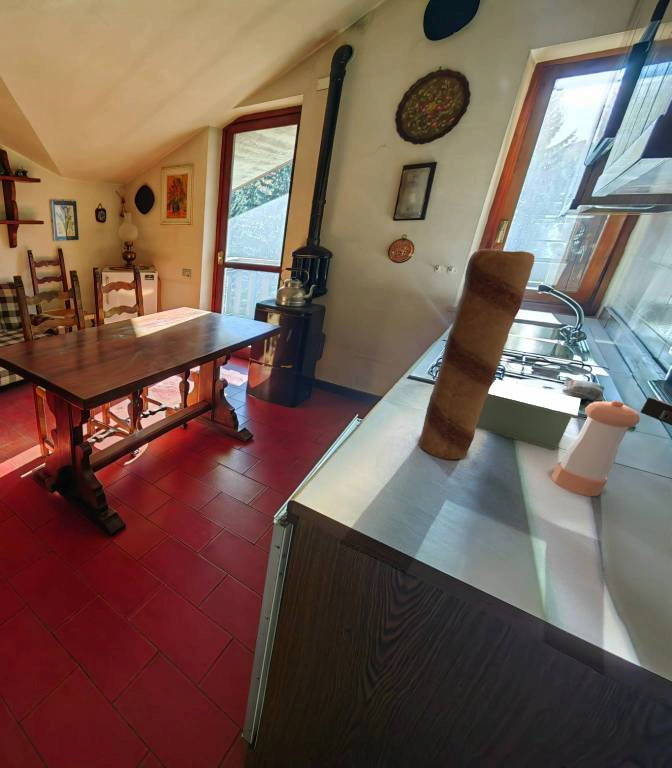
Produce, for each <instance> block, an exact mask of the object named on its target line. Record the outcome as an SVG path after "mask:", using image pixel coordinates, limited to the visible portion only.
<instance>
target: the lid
mask: <svg viewBox="0 0 672 768" xmlns="http://www.w3.org/2000/svg"><path fill="white" fill-rule="evenodd" d="M487 396H489V397H493V398H497V399H501V400H505V401H509V402H513V403H517V404H521V405H524V406H528V407H532V408H536V409H540V410H544V411H548V412H552V413H556V414H560V415H564V416H568V417H571V419H577V418H578V415H579V412H580V411H579V410H580V406H581V400H582V399H580V398H576V397H572V396H569V395H567V394H562V393H557V392H554V391H548V390H545V389H539V388H535V387H532V386H526V385H523V384H518V383H515V382H514V383H513V382H509V381H504V380H501V379H495V380H494V381H493V383H492V385H491V387H490V390H489V393H488V395H487Z"/></svg>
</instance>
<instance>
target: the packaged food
mask: <svg viewBox="0 0 672 768" xmlns="http://www.w3.org/2000/svg"><path fill="white" fill-rule="evenodd" d="M563 384H564V385H565V386H566V389H563V390H562V392H563V393H564V395H566V396H571V397H575V398H580V399H581V400H586V401H590V402H592V403H593V402H603V399H604V390H605V386H603V385H601V384H599V383H596V382H592V381H588V380H569V381H565V382H563Z"/></svg>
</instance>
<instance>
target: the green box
mask: <svg viewBox="0 0 672 768" xmlns="http://www.w3.org/2000/svg"><path fill="white" fill-rule="evenodd" d="M571 419H572V417H568V416H564V415H560V414H556V413H552V412H548V411H544V410H540V409H536V408H532V407H528V406H524V405H521V404H517V403H513V402H509V401H505V400H501V399H497V398H493V397H489V396H487V397H486V399H485V401H484V404H483V408H482V410H481V413H480V415H479V420H478V423H477V426H476V429H477V428H478V429H481V430H483V431H487V432H490V433H494V434H497V435H500V436H504V437H507V438H511V439H513V440H517V441H520V442H523V443H527V444H531V445H534V446H537V447H540V448H544V449H547V450H551V451H554V452H556V451H557V448H558V446H559V444H560V442H561V440H562V438H563V436H564V434H565V432H566V429H567V428H568V426H569V423H570V421H571Z"/></svg>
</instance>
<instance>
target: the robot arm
mask: <svg viewBox="0 0 672 768" xmlns="http://www.w3.org/2000/svg"><path fill="white" fill-rule="evenodd" d="M640 413H641V414H643V415H646V416H648V417H650V418H653V419H655V420H658V421H660V422H662V423H664V424H667V425H670V426H672V403H669V402H666V401H664V400H661V399H659V398H655V397H652V396H651V397H650V396H649V397H648V398H647V399H646V401H645V403H644V405H642V408H641V410H640Z"/></svg>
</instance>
